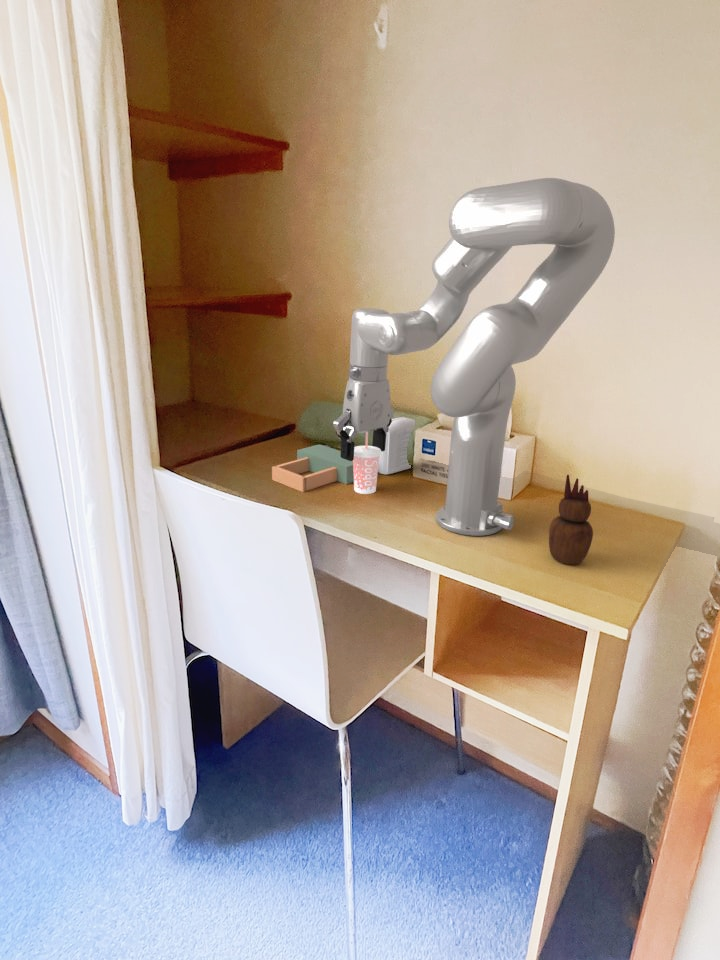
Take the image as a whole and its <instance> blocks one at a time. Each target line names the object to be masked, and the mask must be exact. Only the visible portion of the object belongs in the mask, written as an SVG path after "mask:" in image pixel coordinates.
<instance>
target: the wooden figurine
mask: <svg viewBox="0 0 720 960" xmlns="http://www.w3.org/2000/svg"><path fill="white" fill-rule="evenodd" d="M564 486H565V487H564V493H563V494H564V495H563V497H562V498H561V499H560V500H559V501H560V502H559V504H558V514H559V515H557V516H556V517H554V519H553V520H552V521H551V522H550V525H549V531H548V548H549V552H550V556H551V557H552V558H553V559H554V560H555V561H557V562H559V563H562V564H565V565H573V566H574V565H579V564H581V563H582V562H583V561H584V559H585V558H586V557H587V555H588V552H589V550H590V548H591V546H592V542H593V537H594V529H593V527H592V525H591V523H590V522H589V521H588V519H589V517H590V515H591V513H592V505H591V503H590V500H589V490H588V489H586V490H585V491H584V487H585V486H584V485H583V484H581V485H580V488H579V478H578V477H577V478H576V479H575V482H574V484H573V486H572V487H573V488H572V487H571V480H570V475H569V474H566V478H565V485H564ZM571 488H572V489H571Z"/></svg>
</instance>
